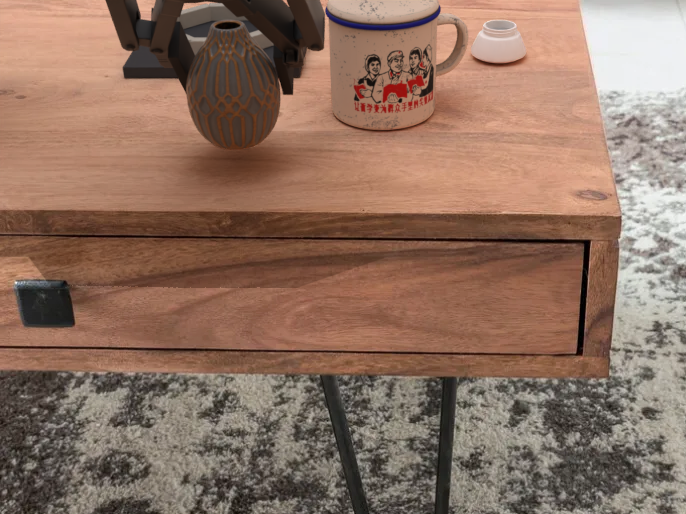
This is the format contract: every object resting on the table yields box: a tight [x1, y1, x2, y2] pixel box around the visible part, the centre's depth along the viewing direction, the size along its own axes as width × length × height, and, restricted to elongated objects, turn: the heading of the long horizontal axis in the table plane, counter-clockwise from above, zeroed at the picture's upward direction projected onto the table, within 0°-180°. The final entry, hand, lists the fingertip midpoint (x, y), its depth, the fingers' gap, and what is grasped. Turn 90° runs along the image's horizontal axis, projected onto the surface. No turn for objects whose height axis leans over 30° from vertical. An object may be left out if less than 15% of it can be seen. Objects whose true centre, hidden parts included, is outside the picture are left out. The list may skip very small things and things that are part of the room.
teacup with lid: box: [324, 0, 469, 131], centre depth 85 cm, size 12×9×12 cm
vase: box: [185, 19, 281, 151], centre depth 77 cm, size 7×7×9 cm
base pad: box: [122, 2, 308, 79], centre depth 100 cm, size 16×16×2 cm
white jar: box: [470, 19, 527, 64], centre depth 96 cm, size 5×3×5 cm
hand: (240, 77), depth 81 cm, fingers closed on vase, 7 cm apart
